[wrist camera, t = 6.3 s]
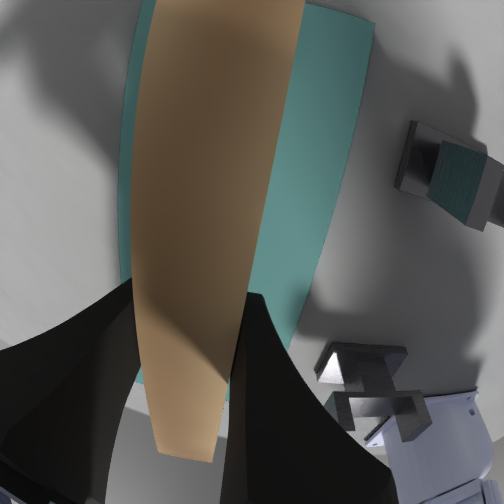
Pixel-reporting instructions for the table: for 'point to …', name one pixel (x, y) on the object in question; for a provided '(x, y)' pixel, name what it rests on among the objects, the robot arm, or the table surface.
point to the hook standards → (390, 358)
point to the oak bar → (202, 198)
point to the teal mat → (283, 156)
